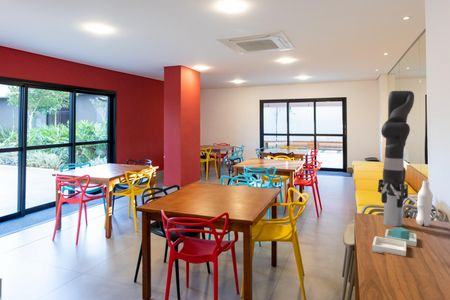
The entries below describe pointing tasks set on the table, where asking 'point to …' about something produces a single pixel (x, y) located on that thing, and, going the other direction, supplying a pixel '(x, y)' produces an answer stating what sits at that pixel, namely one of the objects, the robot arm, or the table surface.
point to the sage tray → (410, 242)
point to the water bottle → (424, 205)
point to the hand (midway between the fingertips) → (391, 205)
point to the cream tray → (389, 246)
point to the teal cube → (400, 233)
